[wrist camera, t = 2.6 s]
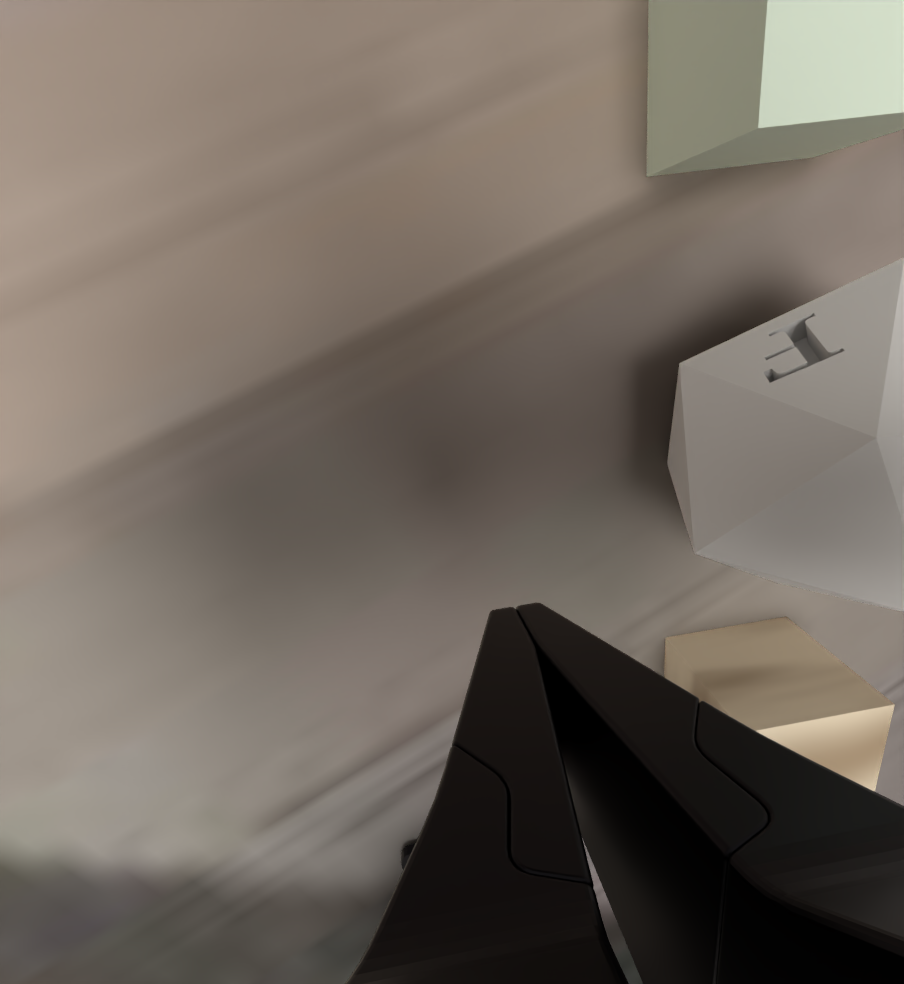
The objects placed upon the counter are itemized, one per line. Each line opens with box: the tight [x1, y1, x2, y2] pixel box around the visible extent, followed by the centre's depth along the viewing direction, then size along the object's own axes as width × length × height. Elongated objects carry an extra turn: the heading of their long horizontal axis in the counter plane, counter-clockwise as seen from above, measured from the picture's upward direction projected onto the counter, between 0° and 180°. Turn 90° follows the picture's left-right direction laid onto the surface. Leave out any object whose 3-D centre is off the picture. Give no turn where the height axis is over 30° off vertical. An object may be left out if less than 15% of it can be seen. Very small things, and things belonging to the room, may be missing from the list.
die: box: [667, 257, 904, 612], centre depth 15 cm, size 8×9×10 cm
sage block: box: [646, 0, 904, 177], centre depth 12 cm, size 5×5×5 cm
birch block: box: [664, 617, 895, 792], centre depth 20 cm, size 5×5×5 cm
